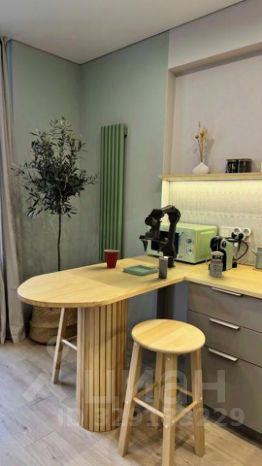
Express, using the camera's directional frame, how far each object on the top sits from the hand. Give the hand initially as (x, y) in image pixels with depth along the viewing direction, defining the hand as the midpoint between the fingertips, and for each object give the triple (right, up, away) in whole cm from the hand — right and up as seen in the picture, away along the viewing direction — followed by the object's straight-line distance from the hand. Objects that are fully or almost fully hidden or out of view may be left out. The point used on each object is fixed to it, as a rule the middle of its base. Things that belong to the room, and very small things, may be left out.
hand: (151, 252), depth 202 cm
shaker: (+6, -15, -8) cm, 18 cm away
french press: (+41, -15, +5) cm, 44 cm away
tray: (-7, -13, +6) cm, 15 cm away
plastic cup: (-26, -11, +15) cm, 32 cm away
